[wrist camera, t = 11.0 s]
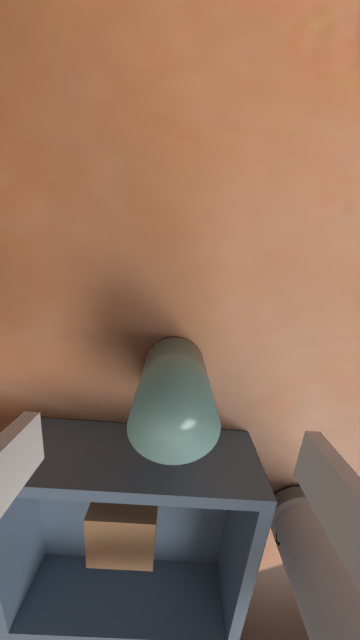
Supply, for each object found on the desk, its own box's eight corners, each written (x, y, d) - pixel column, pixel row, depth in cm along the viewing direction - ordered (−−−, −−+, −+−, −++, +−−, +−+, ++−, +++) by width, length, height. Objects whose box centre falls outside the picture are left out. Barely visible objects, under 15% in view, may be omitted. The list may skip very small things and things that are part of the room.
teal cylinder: (138, 344, 17) (114, 401, 10) (197, 331, 17) (211, 381, 10) (154, 393, 18) (141, 472, 12) (208, 382, 18) (227, 455, 11)
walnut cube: (108, 455, 19) (83, 520, 14) (162, 458, 19) (156, 524, 14) (108, 495, 20) (86, 567, 15) (159, 498, 20) (152, 571, 15)
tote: (25, 416, 19) (-44, 482, 13) (248, 431, 19) (277, 501, 14) (43, 547, 23) (-2, 639, 18) (222, 556, 24) (236, 650, 18)
